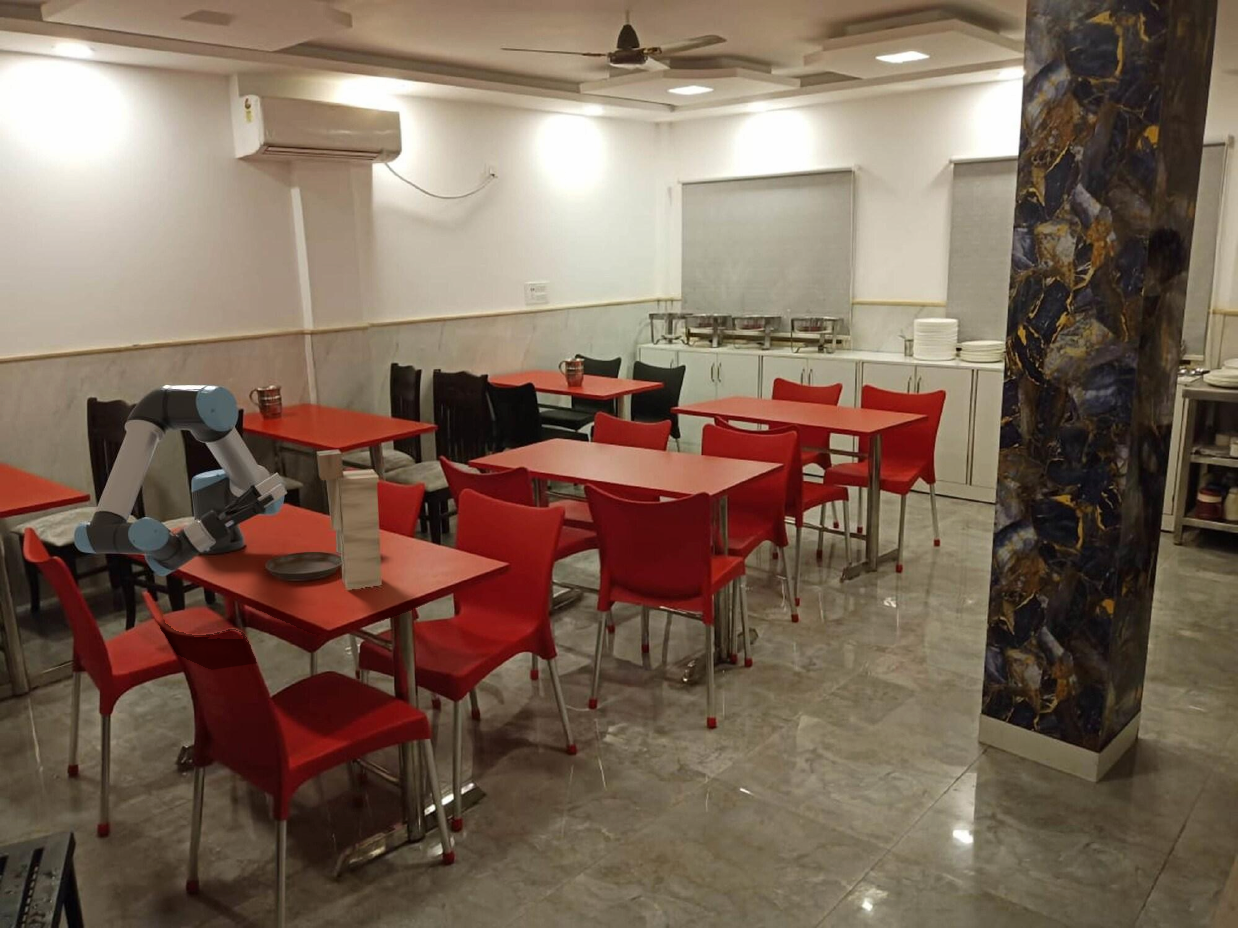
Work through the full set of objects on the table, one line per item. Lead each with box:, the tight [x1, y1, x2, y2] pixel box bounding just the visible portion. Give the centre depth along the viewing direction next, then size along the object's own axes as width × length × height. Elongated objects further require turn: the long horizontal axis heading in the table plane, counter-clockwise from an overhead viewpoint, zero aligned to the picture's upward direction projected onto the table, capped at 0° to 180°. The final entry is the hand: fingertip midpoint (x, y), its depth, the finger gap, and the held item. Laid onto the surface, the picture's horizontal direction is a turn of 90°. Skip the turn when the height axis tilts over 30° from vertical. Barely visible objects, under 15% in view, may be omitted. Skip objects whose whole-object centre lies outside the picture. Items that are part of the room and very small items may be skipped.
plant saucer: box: [265, 551, 342, 582], centre depth 274 cm, size 21×21×3 cm
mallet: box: [316, 449, 344, 531], centre depth 257 cm, size 6×20×6 cm
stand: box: [337, 468, 383, 591], centre depth 262 cm, size 10×10×30 cm
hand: (282, 482), depth 251 cm, fingers open, 13 cm apart
